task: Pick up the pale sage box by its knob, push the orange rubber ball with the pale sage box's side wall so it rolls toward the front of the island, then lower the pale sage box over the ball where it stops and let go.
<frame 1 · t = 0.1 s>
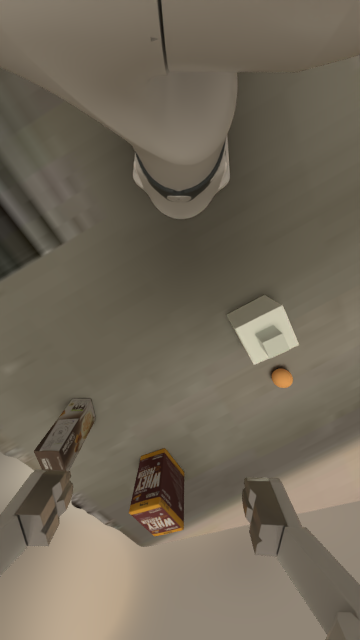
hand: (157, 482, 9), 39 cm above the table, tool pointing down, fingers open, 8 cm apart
ball: (282, 378, 50), on the table
supplement box: (162, 463, 68), on the table
pale sage box: (252, 321, 47), on the table
coffee box: (84, 408, 59), on the table
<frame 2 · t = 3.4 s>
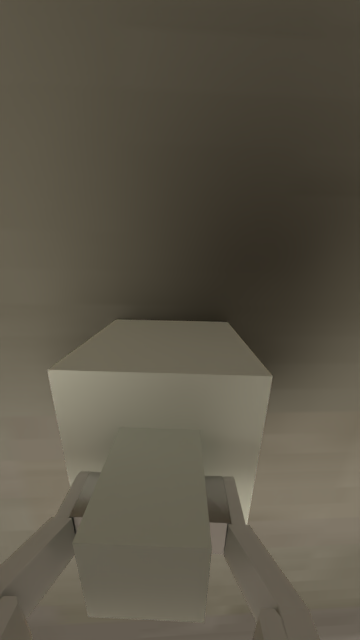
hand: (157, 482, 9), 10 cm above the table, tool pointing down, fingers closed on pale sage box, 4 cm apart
pale sage box: (171, 370, 18), on the table, touching gripper
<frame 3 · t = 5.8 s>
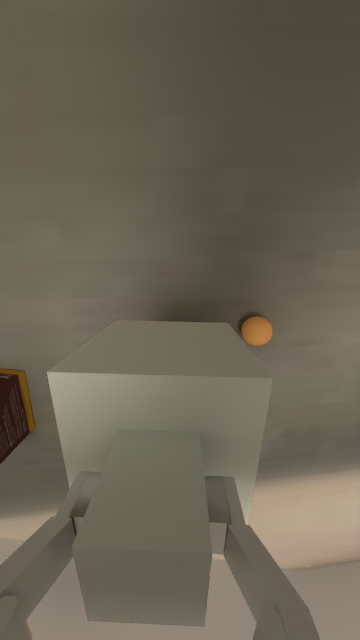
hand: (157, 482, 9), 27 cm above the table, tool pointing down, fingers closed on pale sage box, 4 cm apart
ball: (256, 330, 31), on the table
supplement box: (8, 397, 41), on the table
pale sage box: (171, 371, 18), point 17 cm above the table, touching gripper
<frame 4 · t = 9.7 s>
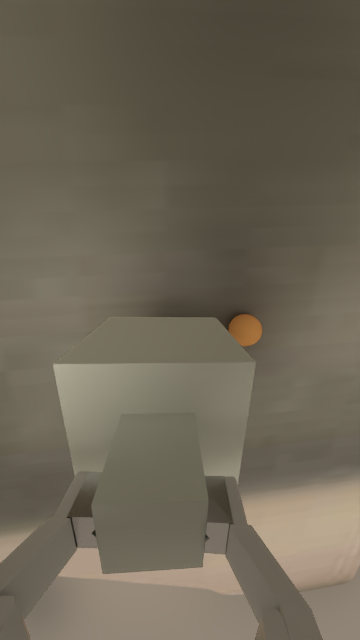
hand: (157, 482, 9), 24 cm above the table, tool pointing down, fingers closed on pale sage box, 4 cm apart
ball: (244, 330, 29), on the table
pale sage box: (163, 364, 19), point 13 cm above the table, touching gripper
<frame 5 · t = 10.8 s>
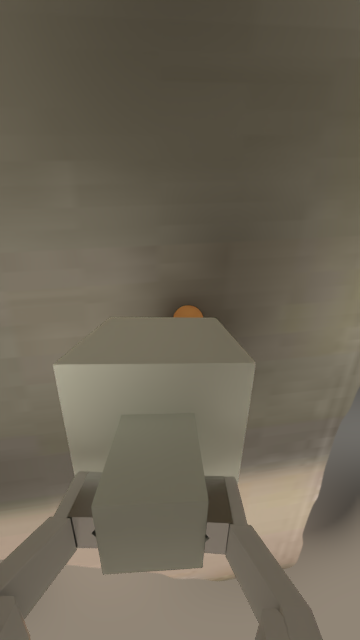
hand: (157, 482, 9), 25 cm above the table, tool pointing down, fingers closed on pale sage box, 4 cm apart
ball: (188, 320, 30), on the table
pale sage box: (163, 364, 19), point 14 cm above the table, touching gripper
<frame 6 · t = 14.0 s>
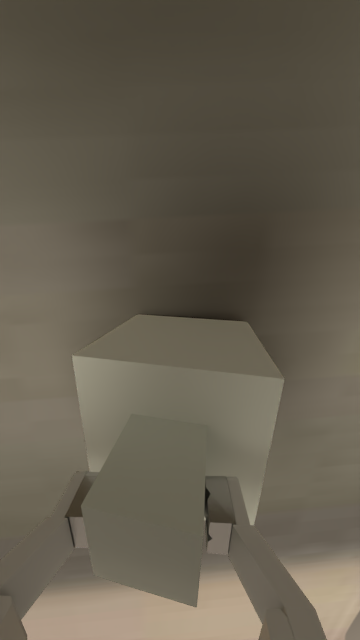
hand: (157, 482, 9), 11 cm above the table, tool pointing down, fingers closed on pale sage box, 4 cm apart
pale sage box: (187, 366, 18), point 1 cm above the table, tilted 9°, touching gripper
when the fingers open (11 cm above the table, at t = 14.8 s): pale sage box stays where it is, on the table.
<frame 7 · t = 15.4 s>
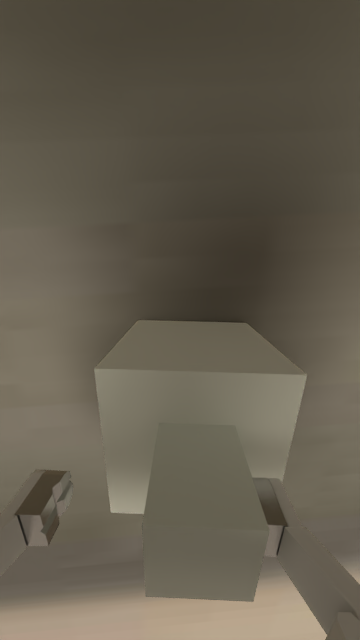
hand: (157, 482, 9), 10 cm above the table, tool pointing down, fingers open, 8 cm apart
pale sage box: (190, 369, 19), on the table
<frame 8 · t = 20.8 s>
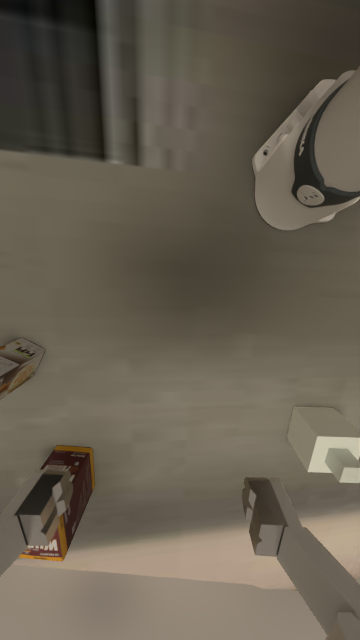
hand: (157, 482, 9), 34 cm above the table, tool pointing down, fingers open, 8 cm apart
supplement box: (77, 464, 55), on the table
pale sage box: (309, 423, 49), on the table
coffee box: (28, 357, 45), on the table
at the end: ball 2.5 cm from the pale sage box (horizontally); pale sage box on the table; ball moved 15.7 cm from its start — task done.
